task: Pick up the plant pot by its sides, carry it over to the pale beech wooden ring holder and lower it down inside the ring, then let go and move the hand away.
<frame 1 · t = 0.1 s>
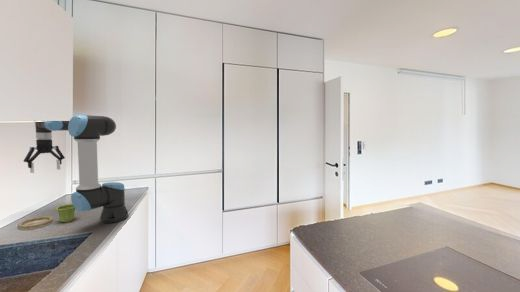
hand: (45, 171, 148), 28 cm above the worktop, tool pointing down, fingers open, 13 cm apart
plant pot: (67, 220, 137), on the worktop
ring holder: (36, 224, 131), on the worktop
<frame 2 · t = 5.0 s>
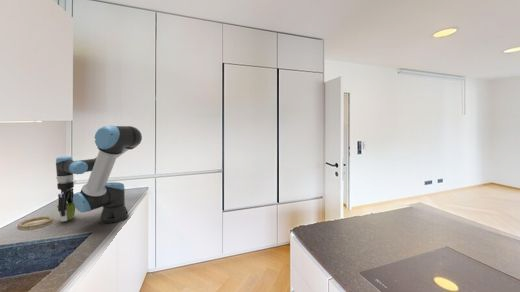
hand: (67, 218, 137), 2 cm above the worktop, tool pointing down, fingers closed on plant pot, 8 cm apart
plant pot: (67, 218, 137), point 1 cm above the worktop, touching gripper
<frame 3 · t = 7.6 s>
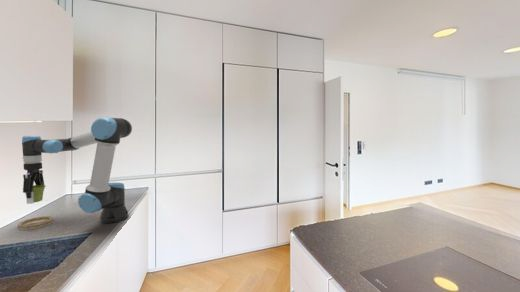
hand: (35, 200, 130), 14 cm above the worktop, tool pointing down, fingers closed on plant pot, 8 cm apart
plant pot: (35, 201, 130), point 14 cm above the worktop, touching gripper
when the fingers open (3 cm above the worktop, at t = 10.4 s): plant pot drops 2 cm, resting on ring holder.
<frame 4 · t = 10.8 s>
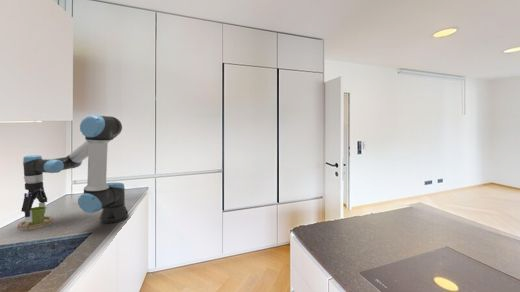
hand: (36, 217, 131), 4 cm above the worktop, tool pointing down, fingers open, 13 cm apart
plant pot: (36, 223, 131), resting on ring holder
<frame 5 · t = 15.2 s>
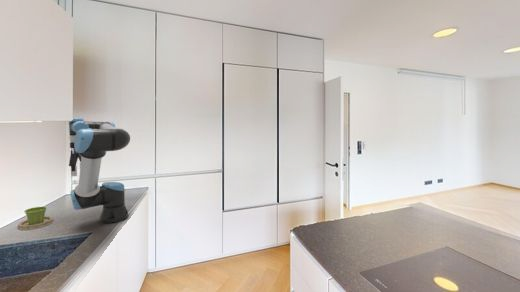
hand: (78, 174, 147), 27 cm above the worktop, tool pointing down, fingers open, 13 cm apart
nothing on the worktop moved.
at the end: plant pot 0.2 cm off-centre on the ring holder, point 0.3 cm above the ring holder's base; plant pot tilted 0°; the gripper is holding nothing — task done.
